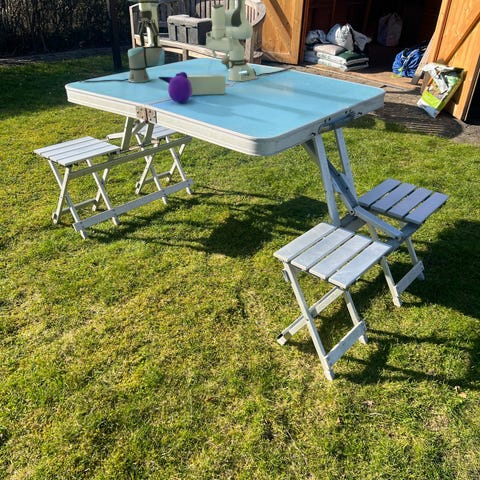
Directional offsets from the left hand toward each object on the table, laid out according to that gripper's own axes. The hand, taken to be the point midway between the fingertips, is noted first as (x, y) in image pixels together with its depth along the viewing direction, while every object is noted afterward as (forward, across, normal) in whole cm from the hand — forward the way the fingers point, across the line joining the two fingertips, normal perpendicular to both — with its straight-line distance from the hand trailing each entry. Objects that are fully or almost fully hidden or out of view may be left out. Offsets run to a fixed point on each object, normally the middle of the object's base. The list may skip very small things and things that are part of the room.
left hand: (149, 47), depth 290 cm
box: (+28, -32, -17) cm, 46 cm away
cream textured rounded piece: (+28, +15, -94) cm, 99 cm away
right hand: (+6, -38, -27) cm, 47 cm away
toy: (+28, -30, +5) cm, 42 cm away
